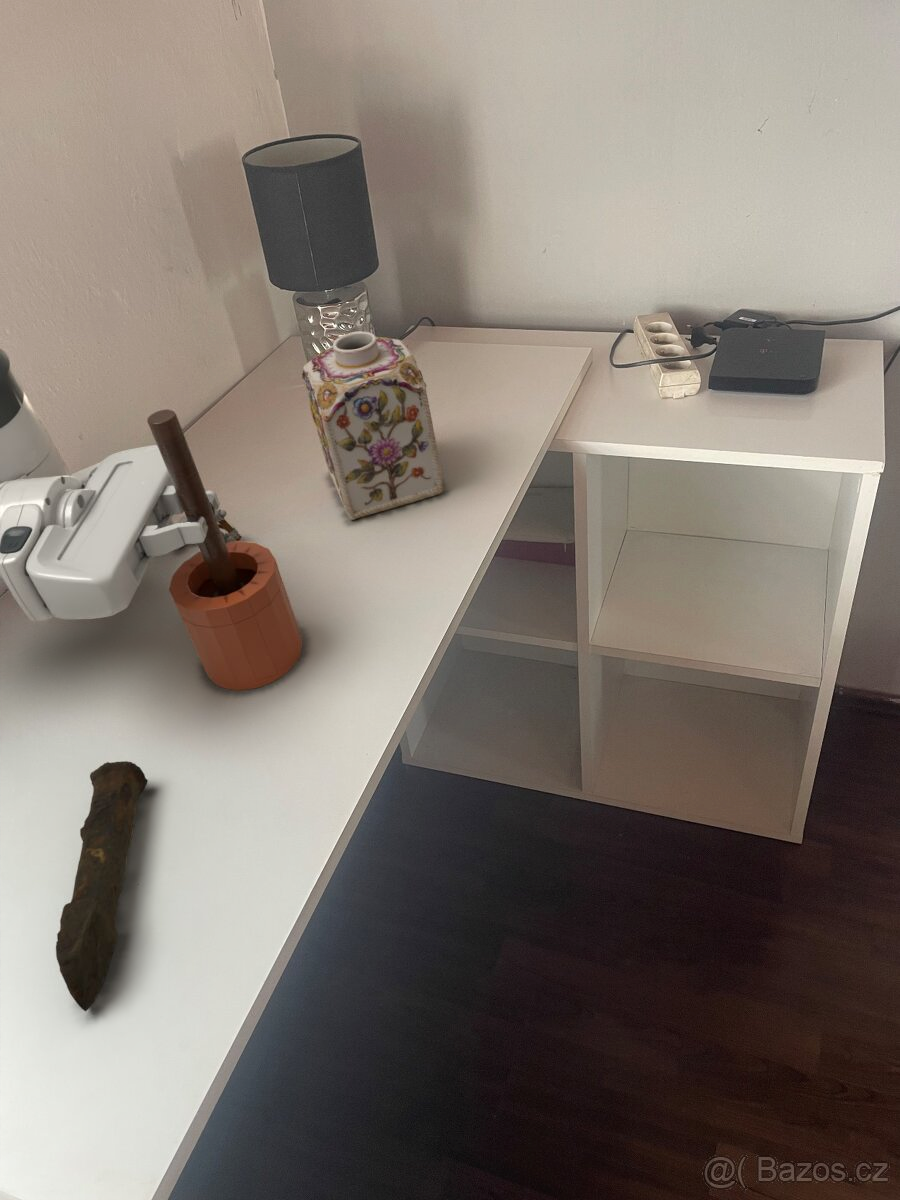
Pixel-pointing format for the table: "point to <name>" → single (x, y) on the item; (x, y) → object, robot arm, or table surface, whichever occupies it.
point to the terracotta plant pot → (239, 619)
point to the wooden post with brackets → (226, 527)
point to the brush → (194, 498)
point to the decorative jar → (373, 423)
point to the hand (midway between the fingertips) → (210, 516)
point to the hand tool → (98, 881)
